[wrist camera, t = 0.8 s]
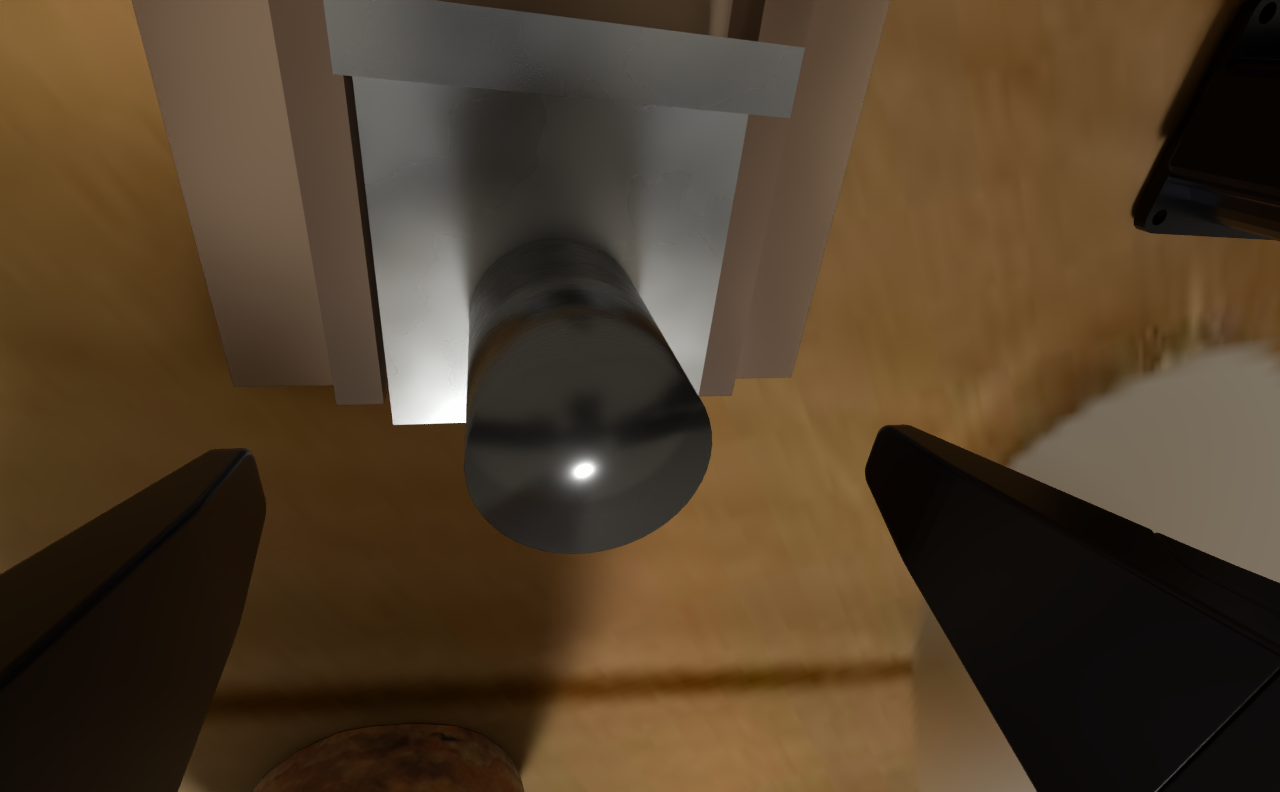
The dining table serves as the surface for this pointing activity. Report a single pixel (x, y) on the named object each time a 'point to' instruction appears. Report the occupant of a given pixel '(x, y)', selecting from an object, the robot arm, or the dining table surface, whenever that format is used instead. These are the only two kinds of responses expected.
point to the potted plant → (397, 763)
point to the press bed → (336, 197)
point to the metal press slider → (553, 245)
